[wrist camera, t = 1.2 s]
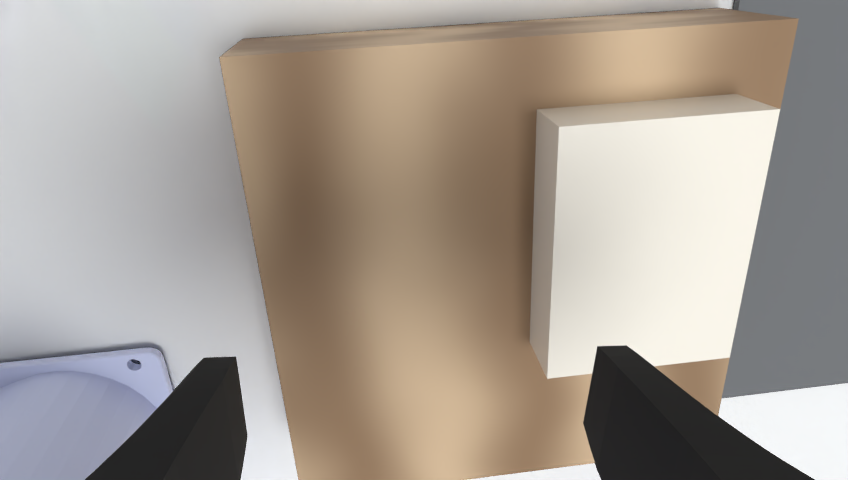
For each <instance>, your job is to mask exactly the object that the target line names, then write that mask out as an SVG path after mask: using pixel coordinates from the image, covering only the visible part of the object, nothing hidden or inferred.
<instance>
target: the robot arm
mask: <svg viewBox="0 0 848 480" xmlns="http://www.w3.org/2000/svg"><path fill="white" fill-rule="evenodd" d="M132 359H135V360H138V361H140V363H141V364H134V363H132V361H131V360H132ZM583 424H584V428H585V431H586V435H587V438H588V442H589V445H590V449H591V452H592V455H593V458H594V462H595V465H596V468H597V471H598V473H599V475H600V478H601V480H814V479H813V478H811V477H809V476H808V475H806V474H804V473H803V472H801V471H799V470H798V469H796V468H794V467H793V466H791V465H789V464H788V463H786V462H785V461H783V460H781V459H780V458H778V457H776V456H775V455H773V454H772V453H770V452H769V451H767V450H766V449H764V448H763V447H761V446H760V445H758V444H757V443H755V442H754V441H752V440H751V439H750V438H748V437H747V436H745V435H744V434H742V433H741V432H739V431H738V430H737V429H735V428H734V427H732V426H731V425H729V424H728V423H727V422H725V421H724V420H723V419H721V418H720V417H718V416H717V415H716V414H714V413H713V412H712V411H710V410H709V409H708V408H706V407H705V406H704V405H702V404H701V403H700V402H699V401H697V400H696V399H695V398H693V397H692V396H691V395H689V394H688V393H687V392H686V391H684V390H683V389H682V388H681V387H679V386H678V385H677V384H675V383H674V382H673V381H672V380H670V379H669V378H668V377H667V376H665V375H664V374H663V373H662V372H660V371H659V370H658V369H657V368H655V367H654V366H653V365H652V364H650V363H649V362H648V361H647V360H645V359H644V358H643V357H641V356H640V355H639V354H638V353H636V352H635V351H634V350H632V349H631V348H629V347H628V346H627V345H623V346H597V351H596V356H595V362H594V367H593V372H592V378H591V383H590V389H589V394H588V399H587V405H586V410H585V415H584V421H583ZM246 442H247V430H246V423H245V416H244V409H243V402H242V395H241V388H240V381H239V374H238V367H237V360H236V357H212V358H203V359H202V360H201V361H200V362H199V363H198V364H197V365H196V366H195V367H194V368H193V370H192V371H191V372H190V373H189V374H188V375H187V376H186V377H185V378H184V380H183V381H182V382H181V383H180V384H179V385H178V386H177V387H176V388H175V390H174V391H173V388H172V385H171V381H170V378H169V374H168V371H167V367H166V364H165V360H164V357H163V355H162V353H161V352H160V351H159V350H157V349H154V348H148V347H147V348H137V349H128V350H118V351H109V352H100V353H90V354H81V355H71V356H62V357H52V358H43V359H33V360H24V361H15V362H5V363H0V480H240V479H241V473H242V467H243V461H244V455H245V448H246Z"/></svg>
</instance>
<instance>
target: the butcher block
mask: <svg viewBox="0 0 848 480" xmlns="http://www.w3.org/2000/svg"><path fill="white" fill-rule="evenodd" d="M798 20H799V18H791V17H784V16H776V15H769V14H761V13H754V12H746V11H739V10H731V9H724V8H712V9H696V10H681V11H665V12H650V13H634V14H619V15H603V16H588V17H573V18H557V19H542V20H526V21H511V22H495V23H480V24H464V25H449V26H433V27H418V28H402V29H387V30H371V31H356V32H341V33H325V34H310V35H294V36H279V37H263V38H248V39H242V40H241V41H239V42H238V43H237V44H236V45H234V46H233V47H232V48H230V49H229V50H228V51H227V52H225V53H224V54H223V55H222V56H220V57H219V59H220V64H221V70H222V75H223V80H224V85H225V91H226V96H227V101H228V107H229V112H230V117H231V123H232V128H233V133H234V139H235V144H236V149H237V155H238V160H239V165H240V171H241V176H242V181H243V187H244V192H245V197H246V203H247V208H248V213H249V219H250V224H251V229H252V235H253V240H254V245H255V251H256V256H257V261H258V267H259V272H260V277H261V283H262V288H263V293H264V299H265V304H266V309H267V315H268V320H269V325H270V331H271V336H272V341H273V346H274V352H275V357H276V362H277V368H278V373H279V378H280V384H281V389H282V394H283V400H284V405H285V410H286V416H287V421H288V426H289V432H290V437H291V442H292V448H293V453H294V458H295V464H296V469H297V474H298V480H467V479H474V478H482V477H490V476H498V475H505V474H513V473H521V472H528V471H536V470H544V469H552V468H559V467H567V466H575V465H583V464H590V463H595V462H594V458H593V455H592V452H591V449H590V445H589V442H588V438H587V435H586V431H585V428H584V424H583V421H584V415H585V410H586V405H587V399H588V394H589V389H590V383H591V378H592V374H584V375H576V376H567V377H558V378H550V379H547V377H546V375H545V373H544V371H543V369H542V367H541V365H540V363H539V361H538V359H537V356H536V354H535V352H534V350H533V348H532V346H531V344H530V315H531V282H532V250H533V217H534V185H535V153H536V120H537V109H547V108H560V107H573V106H586V105H599V104H612V103H625V102H637V101H650V100H663V99H676V98H689V97H702V96H715V95H728V94H738V95H741V96H744V97H747V98H750V99H752V100H755V101H758V102H761V103H764V104H767V105H770V106H773V107H776V108H778V109H781V104H782V99H783V94H784V89H785V84H786V79H787V74H788V69H789V64H790V59H791V55H792V50H793V45H794V40H795V35H796V30H797V25H798ZM775 133H776V132H775ZM774 138H775V137H774ZM773 143H774V142H773ZM772 148H773V147H772ZM771 153H772V152H771ZM770 158H771V157H770ZM769 163H770V162H769ZM764 187H765V186H764ZM763 192H764V191H763ZM762 197H763V196H762ZM761 202H762V201H761ZM760 207H761V206H760ZM759 212H760V211H759ZM758 217H759V216H758ZM753 241H754V240H753ZM752 246H753V245H752ZM751 251H752V250H751ZM750 256H751V255H750ZM749 261H750V260H749ZM748 266H749V265H748ZM747 271H748V270H747ZM741 300H742V299H741ZM740 305H741V304H740ZM739 310H740V309H739ZM738 315H739V314H738ZM737 320H738V319H737ZM736 325H737V324H736ZM730 354H731V353H730ZM729 359H730V358H722V359H713V360H704V361H696V362H687V363H679V364H670V365H661V366H654V367H655V368H657V369H658V370H659V371H660V372H662V373H663V374H664V375H665V376H667V377H668V378H669V379H670V380H672V381H673V382H674V383H675V384H677V385H678V386H679V387H681V388H682V389H683V390H684V391H686V392H687V393H688V394H689V395H691V396H692V397H693V398H695V399H696V400H697V401H699V402H700V403H701V404H702V405H704V406H705V407H706V408H708V409H709V410H710V411H712V412H713V413H714V414H716V415H717V416H718V413H719V408H720V403H721V398H722V393H723V388H724V383H725V379H726V374H727V369H728V364H729Z"/></svg>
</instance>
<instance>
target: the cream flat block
mask: <svg viewBox="0 0 848 480" xmlns="http://www.w3.org/2000/svg"><path fill="white" fill-rule="evenodd" d="M779 113H780V109H778V108H776V107H773V106H770V105H767V104H764V103H761V102H758V101H755V100H752V99H750V98H747V97H744V96H741V95H738V94H728V95H715V96H702V97H689V98H676V99H663V100H650V101H637V102H625V103H612V104H599V105H586V106H573V107H560V108H547V109H537V120H536V153H535V185H534V217H533V250H532V282H531V315H530V344H531V346H532V348H533V350H534V352H535V354H536V356H537V359H538V361H539V363H540V365H541V367H542V369H543V371H544V373H545V375H546V377H547V379H550V378H558V377H567V376H576V375H584V374H592V372H593V367H594V362H595V356H596V351H597V346H623V345H627V346H628V347H629V348H631V349H632V350H634V351H635V352H636V353H638V354H639V355H640V356H641V357H643V358H644V359H645V360H647V361H648V362H649V363H650V364H652V365H653V366H661V365H670V364H679V363H687V362H696V361H704V360H713V359H722V358H730V353H731V349H732V344H733V339H734V334H735V329H736V324H737V319H738V314H739V309H740V304H741V299H742V295H743V290H744V285H745V280H746V275H747V270H748V265H749V260H750V255H751V250H752V245H753V240H754V236H755V231H756V226H757V221H758V216H759V211H760V206H761V201H762V196H763V191H764V186H765V182H766V177H767V172H768V167H769V162H770V157H771V152H772V147H773V142H774V137H775V132H776V128H777V123H778V118H779Z"/></svg>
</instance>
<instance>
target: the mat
mask: <svg viewBox="0 0 848 480" xmlns="http://www.w3.org/2000/svg"><path fill="white" fill-rule="evenodd" d="M733 10H739V11H746V12H754V13H761V14H769V15H776V16H784V17H791V18H799V20H798V25H797V30H796V35H795V40H794V45H793V50H792V55H791V59H790V64H789V69H788V74H787V79H786V84H785V89H784V94H783V99H782V104H781V109H780V113H779V118H778V123H777V128H776V133H775V138H774V143H773V148H772V153H771V158H770V163H769V167H768V172H767V177H766V182H765V187H764V192H763V197H762V202H761V207H760V212H759V217H758V221H757V226H756V231H755V236H754V241H753V246H752V251H751V256H750V261H749V266H748V271H747V275H746V280H745V285H744V290H743V295H742V300H741V305H740V310H739V315H738V320H737V325H736V329H735V334H734V339H733V344H732V349H731V354H730V359H729V364H728V369H727V374H726V379H725V383H724V388H723V393H722V398H728V397H736V396H744V395H753V394H761V393H769V392H777V391H785V390H793V389H802V388H810V387H818V386H826V385H834V384H842V383H848V0H735V2H734V8H733Z"/></svg>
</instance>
